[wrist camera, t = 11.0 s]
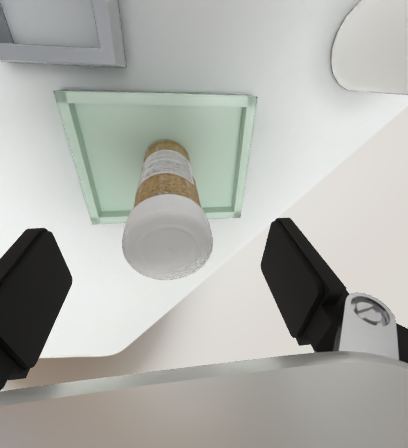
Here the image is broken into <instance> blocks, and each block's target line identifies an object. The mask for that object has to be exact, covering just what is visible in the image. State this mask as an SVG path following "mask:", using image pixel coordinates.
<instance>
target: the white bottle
mask: <svg viewBox="0 0 408 448" xmlns="http://www.w3.org/2000/svg"><path fill="white" fill-rule="evenodd" d="M331 64H332V70H333V75H334V76H335V78H336V80H337V81H338V83H339V85H341V86H342V87H344V88H345V89H347V90H351V91H361V92H375V93H388V94H402V95H408V0H361V1H360V2H359V3H358V4H357V5H356V6H355V7H354V9H353V10H352V11H351V12H350V13H349V14H348V15H347V17H346V18H345V20H344V22H343V24H342V25H341V27H340V29H339V31H338V32H337V36H336V39H335V42H334V45H333V48H332V59H331Z"/></svg>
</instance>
